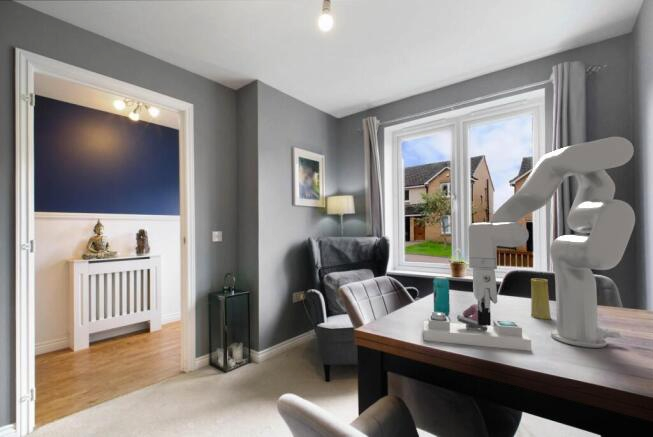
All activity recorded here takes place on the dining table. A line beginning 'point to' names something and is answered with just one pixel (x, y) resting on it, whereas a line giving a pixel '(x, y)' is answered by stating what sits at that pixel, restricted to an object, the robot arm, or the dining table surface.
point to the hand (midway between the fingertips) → (484, 324)
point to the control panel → (477, 334)
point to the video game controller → (472, 312)
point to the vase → (540, 299)
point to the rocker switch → (471, 322)
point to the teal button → (506, 324)
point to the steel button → (438, 316)
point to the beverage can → (441, 295)
